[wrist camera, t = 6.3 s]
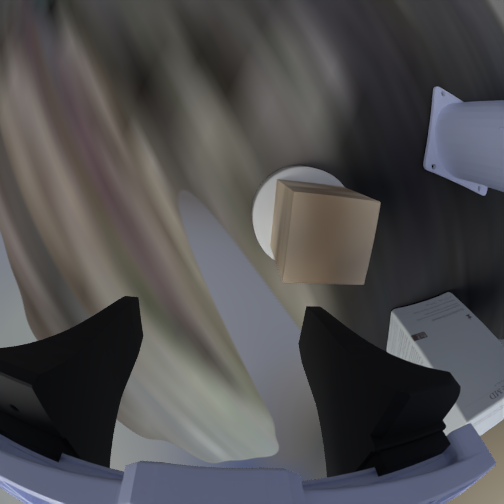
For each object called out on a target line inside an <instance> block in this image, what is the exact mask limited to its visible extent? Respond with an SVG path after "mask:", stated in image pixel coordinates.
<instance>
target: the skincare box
mask: <svg viewBox="0 0 504 504" xmlns="http://www.w3.org/2000/svg"><path fill="white" fill-rule="evenodd" d="M387 352H388V353H390V354H392V355H394V356H397V357H399V358H401V359H404V360H406V361H409V362H412V363H415V364H418V365H421V366H425V367H428V368H433V369H438V370H443V371H448V372H450V373H451V374H452V375H453V377H454V378H455V379H456V381H457V382H458V384H459V385H460V386H461V391H460V394H459V397H458V399H457V401H456V403H455V404H454V406H453V407H452V408H451V410H450V411H449V413H448V414H447V415H446V417H445V418H444V419H443V421H444V423H445V424H446V428H445V429H444V430H443V432H444V433H445V435H446V436H447V435H448V434H449V433H450V432H452V431H454V430H456V429H458V428H460V427H462V426H464V425H467V424H469V423H471V424H472V425H473V427H474V428H475V430H476V431H477V433H478V434H479V436H481V435H482V434H484V433H485V432H486V431H487V430H489V429H490V428H492V427H493V426H495V425H496V424H497V423H499V422H500V421H501V420H503V419H504V345H503V344H502V343H501V342H500V341H499V340H498V339H497V338H496V337H495V336H494V335H493V333H492V332H491V331H490V330H489V329H488V328H487V327H486V326H485V325H484V324H483V323H482V322H481V321H480V320H479V319H478V318H477V317H476V316H475V315H474V314H473V313H472V312H471V311H470V310H469V309H468V308H467V307H466V306H465V305H464V304H463V303H462V302H461V301H460V300H459V299H457V298H456V297H455V296H454V295H453V294H452V293H450V292H447V293H444V294H442V295H440V296H438V297H435V298H432V299H429V300H427V301H423V302H420V303H417V304H413V305H410V306H406V307H402V308H397V309H394V310H392V312H391V319H390V328H389V336H388V343H387Z"/></svg>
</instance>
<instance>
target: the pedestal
mask: <svg viewBox="0 0 504 504" xmlns="http://www.w3.org/2000/svg"><path fill="white" fill-rule="evenodd" d="M277 179H280V180H291V181H300V182H310V183H318V184H327V185H334V186H342V187H344V185H343V184H342V183H341V182H340V181H339V180H338V179H337V178H335V177H334V176H332V175H331V174H329V173H327V172H325V171H323V170H319V169H316V168H312V167H308V166H297V165H295V166H288V167H285V168H282V169H279V170H277V171H275V172H274V173H272V174H271V175H269V176H268V177H267V178H266V179H265V180H264V181H263V182H262V184H261V185H260V186H259V188H258V190H257V191H256V193H255V196H254V199H253V203H252V221H253V226H254V230H255V234H256V237H257V239H258V242H259V244H260V245H261V247H262V249H263V250H264V251H265V252H266V253H267V254H268V255H269V256H270V257H271V258H272V259H274V256H273V253H272V250H271V247H270V242H271V233H272V223H273V213H274V203H275V193H276V182H277ZM274 260H275V259H274Z"/></svg>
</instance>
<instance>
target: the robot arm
mask: <svg viewBox="0 0 504 504" xmlns="http://www.w3.org/2000/svg"><path fill="white" fill-rule="evenodd" d="M441 92H442V94H443V96H442V94H441ZM432 164H433V168H432ZM423 166H424V168H425V169H426V170H428V171H430V172H432V173H435V174H437V175H440V176H442V177H444V178H446V179H449V180H451V181H453V182H455V183H457V184H460V185H462V186H464V187H466V188H468V189H470V190H472V191H474V192H476V193H478V194H480V195H483V196H485V195H486V193H487V188H488V187H489V188H493V189H496V190H499V191H502V192H504V100H495V101H474V102H463V101H461V100H460V99H458V98H457V97H455V96H453V95H452V94H450V93H449V92H447V91H445V90H444V89H442V88H440V87H434V88H433V96H432V107H431V116H430V124H429V131H428V138H427V144H426V150H425V156H424V162H423ZM142 339H143V331H142V324H141V316H140V308H139V300H138V297H130V296H125V297H123V298H121V299H119V300H117V301H116V302H114V303H113V304H111V305H110V306H108V307H106V308H105V309H103V310H102V311H100V312H99V313H97V314H95V315H94V316H92V317H90V318H89V319H87V320H85V321H83V322H82V323H80V324H78V325H76V326H74V327H72V328H70V329H68V330H66V331H64V332H62V333H59V334H57V335H54V336H51V337H48V338H45V339H43V340H40V341H36V342H32V343H29V344H24V345H19V346H14V347H7V348H0V488H2V489H3V490H4V491H6V492H8V493H9V494H11V495H12V496H14V497H15V498H17V499H19V500H20V501H22V502H24V503H25V504H445V503H446V502H448V501H450V500H452V499H454V498H455V497H457V496H459V495H460V494H461V493H463V492H464V491H465V490H467V489H468V488H469V487H470V486H472V485H473V484H474V483H476V482H477V481H478V480H479V479H480V478H481V477H483V476H484V475H485V474H486V473H487V472H488V471H490V470H491V469H492V468H493V467H494V466H495V465H496V462H495V460H494V458H493V457H492V455H491V453H490V452H489V450H488V449H487V447H486V446H485V444H484V442H483V441H482V439H481V438H480V436H479V434H478V433H477V431H476V430H475V428H474V427H473V425H472V424H471V423H469V424H467V425H464V426H462V427H460V428H458V429H456V430H454V431H452V432H450V433H449V434H448V435H447V436H446V435H445V433H444V432H443V430H444V429H445V428H446V424H445V423H444V421H443V419H444V418H445V417H446V415H447V414H448V413H449V411H450V410H451V408H452V407H453V406H454V404H455V403H456V401H457V399H458V397H459V394H460V391H461V386H460V385H459V384H458V382H457V381H456V379H455V378H454V377H453V375H452V374H451V373H450V372H448V371H443V370H438V369H433V368H428V367H425V366H421V365H418V364H415V363H412V362H409V361H406V360H404V359H401V358H399V357H397V356H394V355H392V354H390V353H388V352H386V351H384V350H382V349H380V348H378V347H376V346H374V345H373V344H371V343H369V342H368V341H366V340H365V339H363V338H362V337H360V336H359V335H357V334H356V333H354V332H353V331H352V330H350V329H349V328H347V327H346V326H345V325H344V324H342V323H341V322H340V321H338V320H337V319H336V318H335V317H333V316H332V315H331V314H329V313H328V312H327V311H326V310H324V309H323V308H321V307H307V306H306V311H305V316H304V321H303V326H302V331H301V335H300V340H299V349H300V354H301V360H302V364H303V367H304V370H305V373H306V376H307V379H308V382H309V385H310V388H311V390H312V394H313V397H314V400H315V403H316V407H317V410H318V415H319V420H320V426H321V431H322V437H323V443H324V451H325V459H326V470H327V478H322V479H314V480H307V481H301V477H300V475H299V474H297V473H294V472H291V471H289V470H286V469H277V468H214V467H213V468H212V467H198V466H186V465H177V464H170V463H163V462H148V461H140V462H136V463H133V464H130V465H127V466H126V467H125V472H123V471H119V470H115V469H111V468H110V456H111V448H112V440H113V433H114V428H115V423H116V418H117V413H118V409H119V405H120V401H121V397H122V394H123V391H124V389H125V386H126V384H127V381H128V379H129V376H130V374H131V372H132V369H133V367H134V364H135V362H136V359H137V357H138V354H139V351H140V347H141V343H142Z"/></svg>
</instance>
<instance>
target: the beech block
mask: <svg viewBox="0 0 504 504" xmlns="http://www.w3.org/2000/svg"><path fill="white" fill-rule="evenodd" d="M380 204H381V202H379V201H377V200H375V199H372V198H370V197H367V196H365V195H362V194H360V193H358V192H355V191H353V190H350V189H347V188H345V187H342V186H334V185H327V184H318V183H310V182H300V181H291V180H280V179H277V182H276V193H275V203H274V213H273V223H272V233H271V242H270V247H271V250H272V253H273V256H274V259H275V261H276V264H277V267H278V270H279V273H280V276H281V279H282V282H285V283H315V284H358V285H364V281H365V277H366V273H367V269H368V265H369V260H370V256H371V251H372V247H373V242H374V237H375V232H376V226H377V221H378V215H379V210H380Z"/></svg>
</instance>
